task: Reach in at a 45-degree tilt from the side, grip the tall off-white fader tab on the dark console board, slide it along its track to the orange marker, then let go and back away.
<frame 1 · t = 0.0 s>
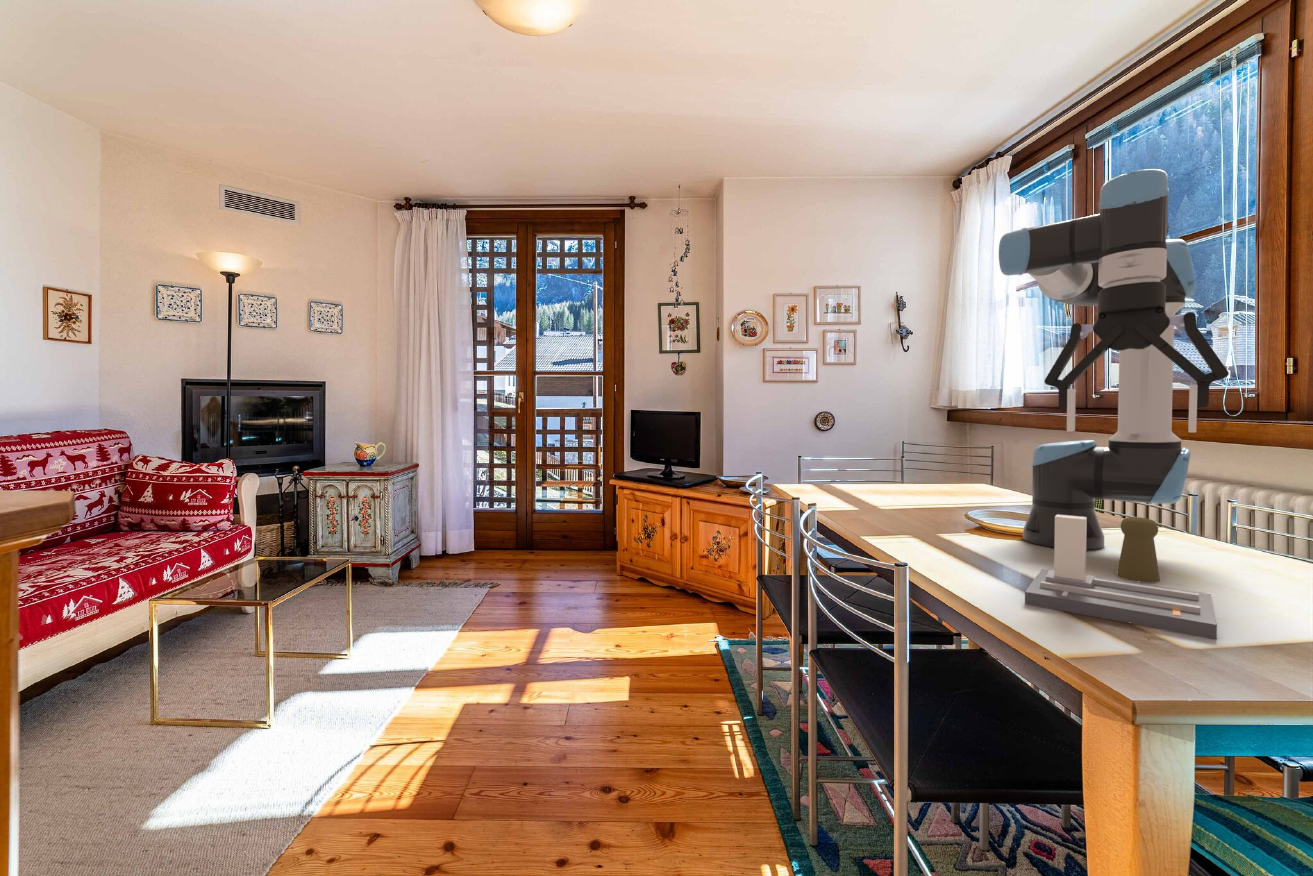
hand: (1128, 431, 82), 28 cm above the table, tool pointing down, fingers open, 13 cm apart
cork: (1138, 578, 102), on the table
fader: (1070, 550, 93), point 8 cm above the table, slide at 0.0 cm
console board: (1116, 605, 89), on the table
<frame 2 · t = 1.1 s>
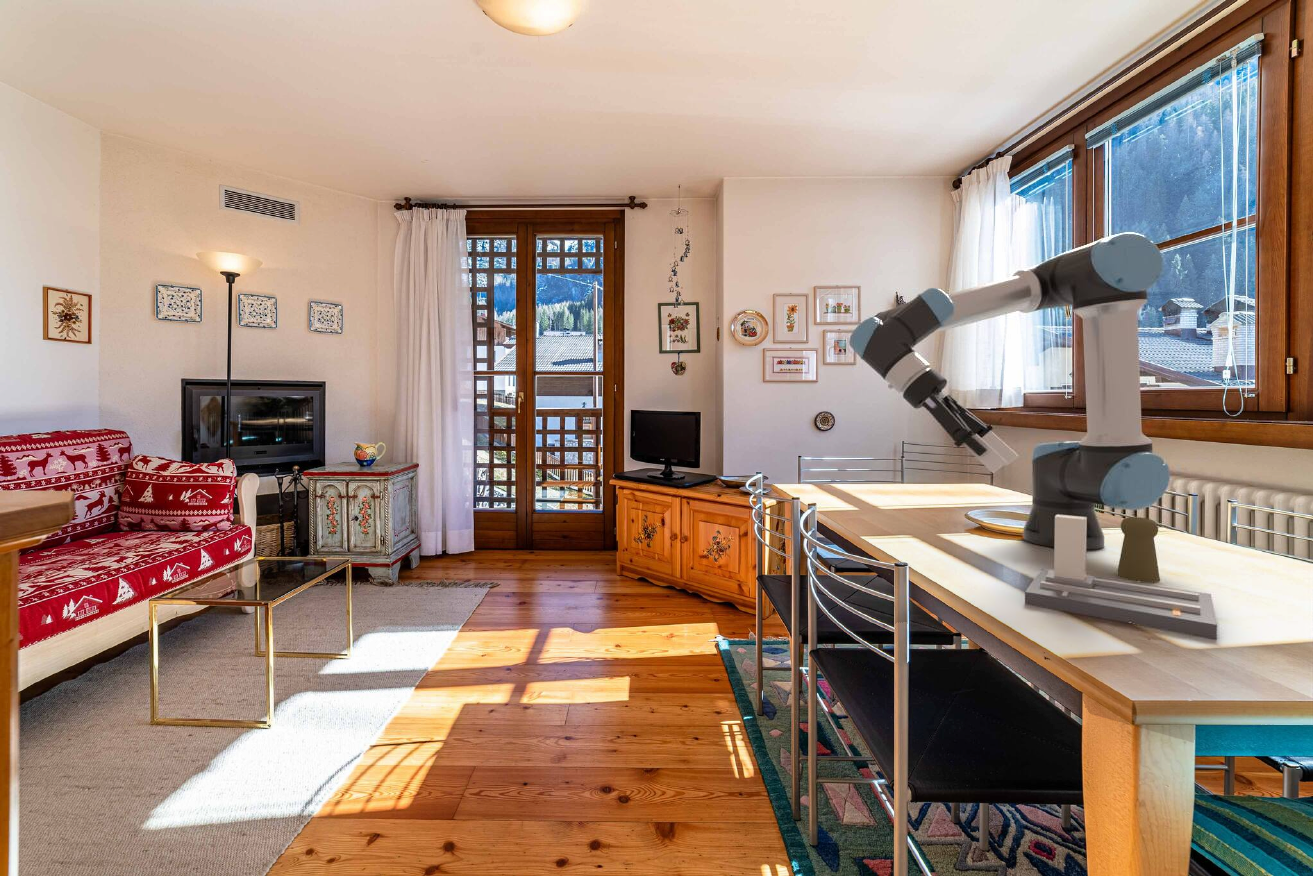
hand: (1007, 464, 98), 22 cm above the table, tool tilted 45°, fingers open, 13 cm apart
nothing on the table moved.
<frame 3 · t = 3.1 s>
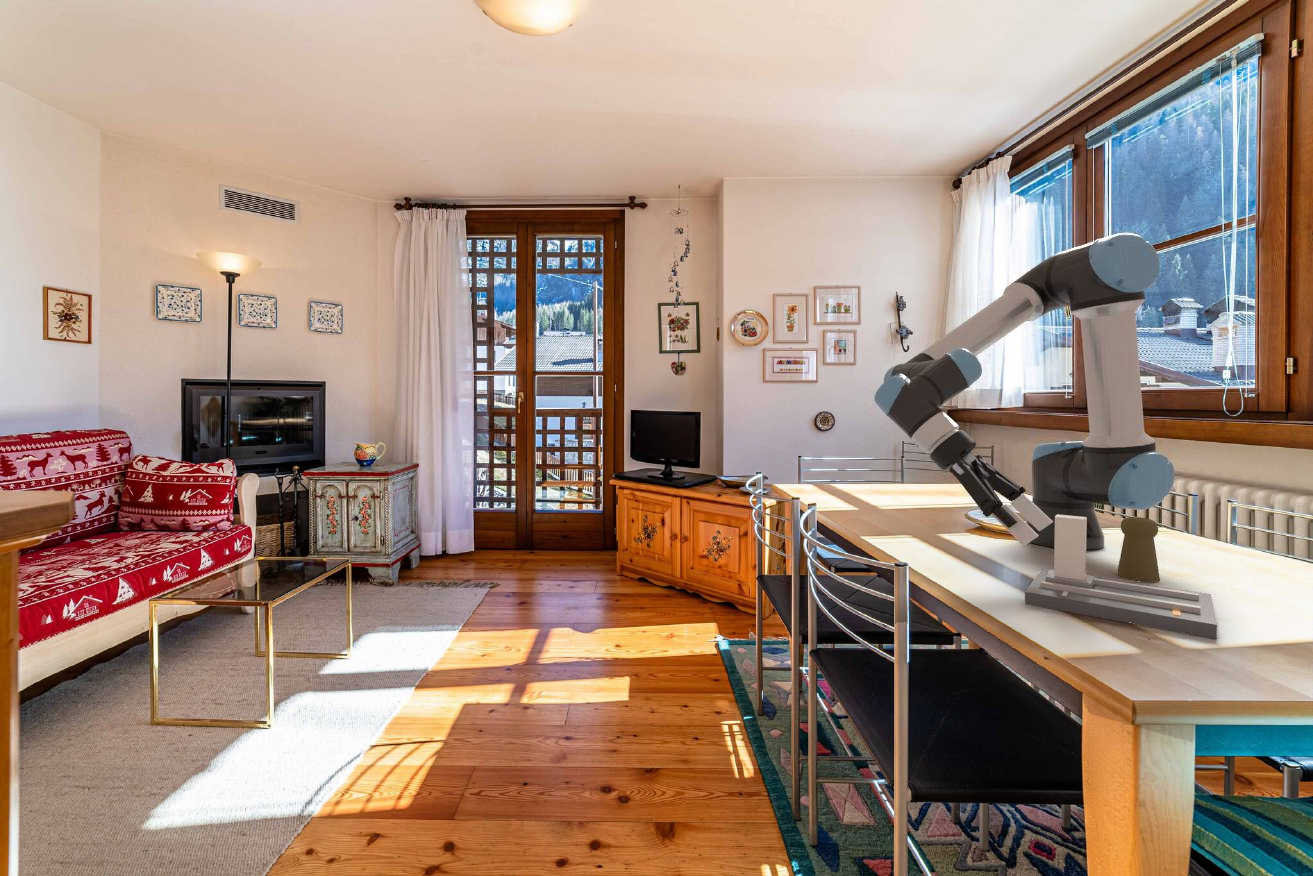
hand: (1039, 533, 95), 10 cm above the table, tool tilted 45°, fingers open, 13 cm apart
nothing on the table moved.
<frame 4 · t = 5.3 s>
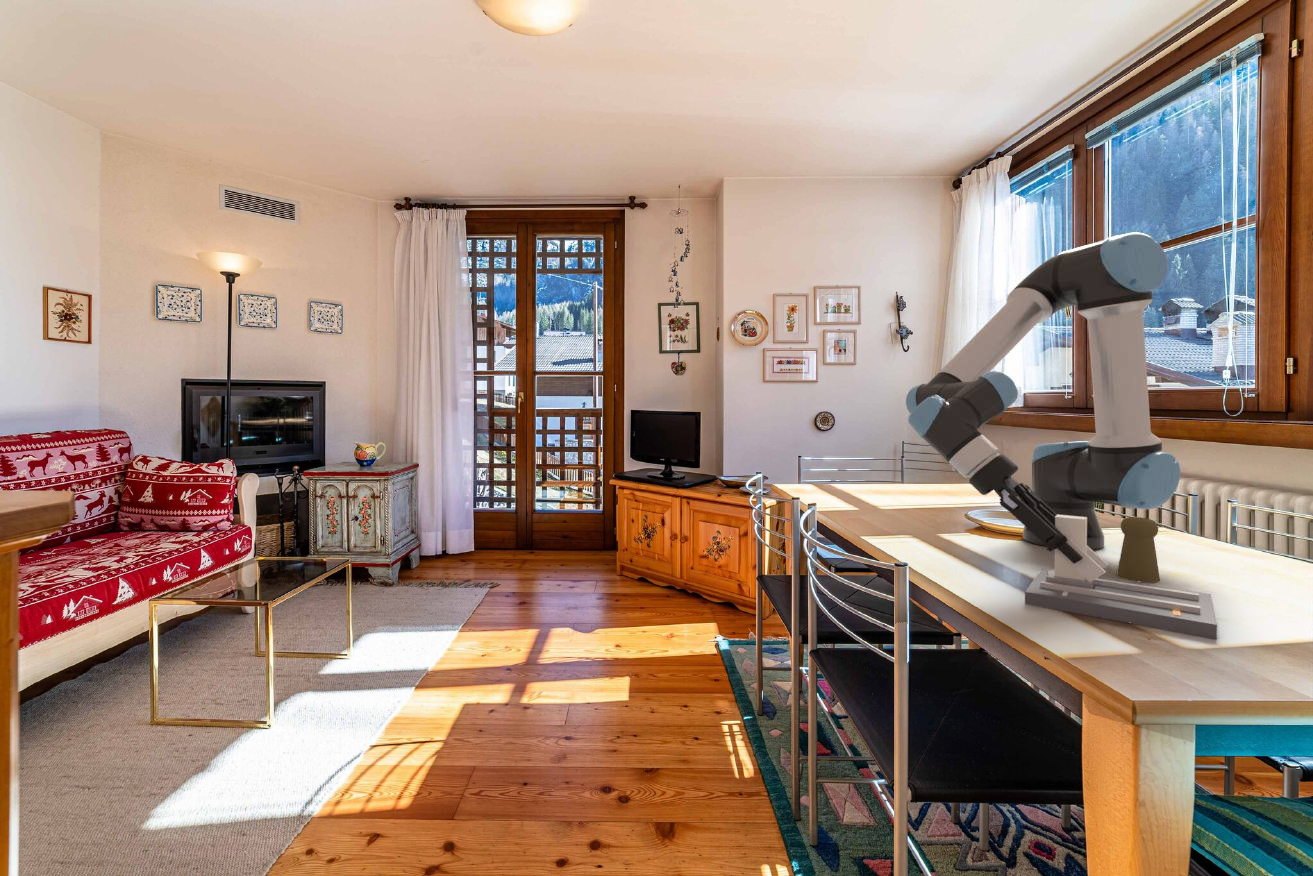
hand: (1098, 573, 90), 5 cm above the table, tool tilted 45°, fingers closed on fader, 4 cm apart
fader: (1070, 550, 93), point 8 cm above the table, slide at 0.1 cm, touching gripper
everything else where it was.
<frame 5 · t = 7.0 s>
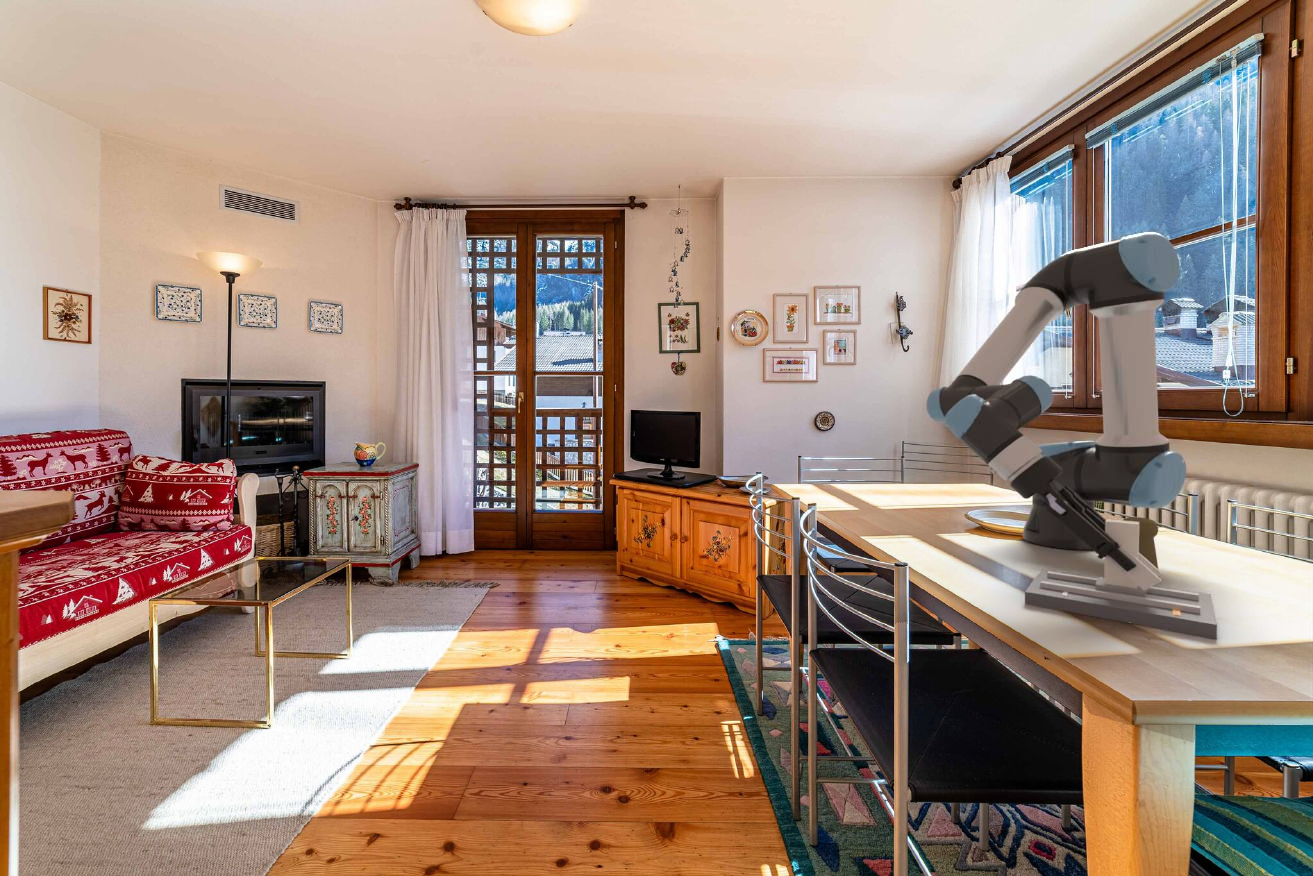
hand: (1153, 581, 86), 5 cm above the table, tool tilted 45°, fingers closed on fader, 4 cm apart
fader: (1121, 556, 88), point 8 cm above the table, slide at 6.6 cm, touching gripper
everything else where it was.
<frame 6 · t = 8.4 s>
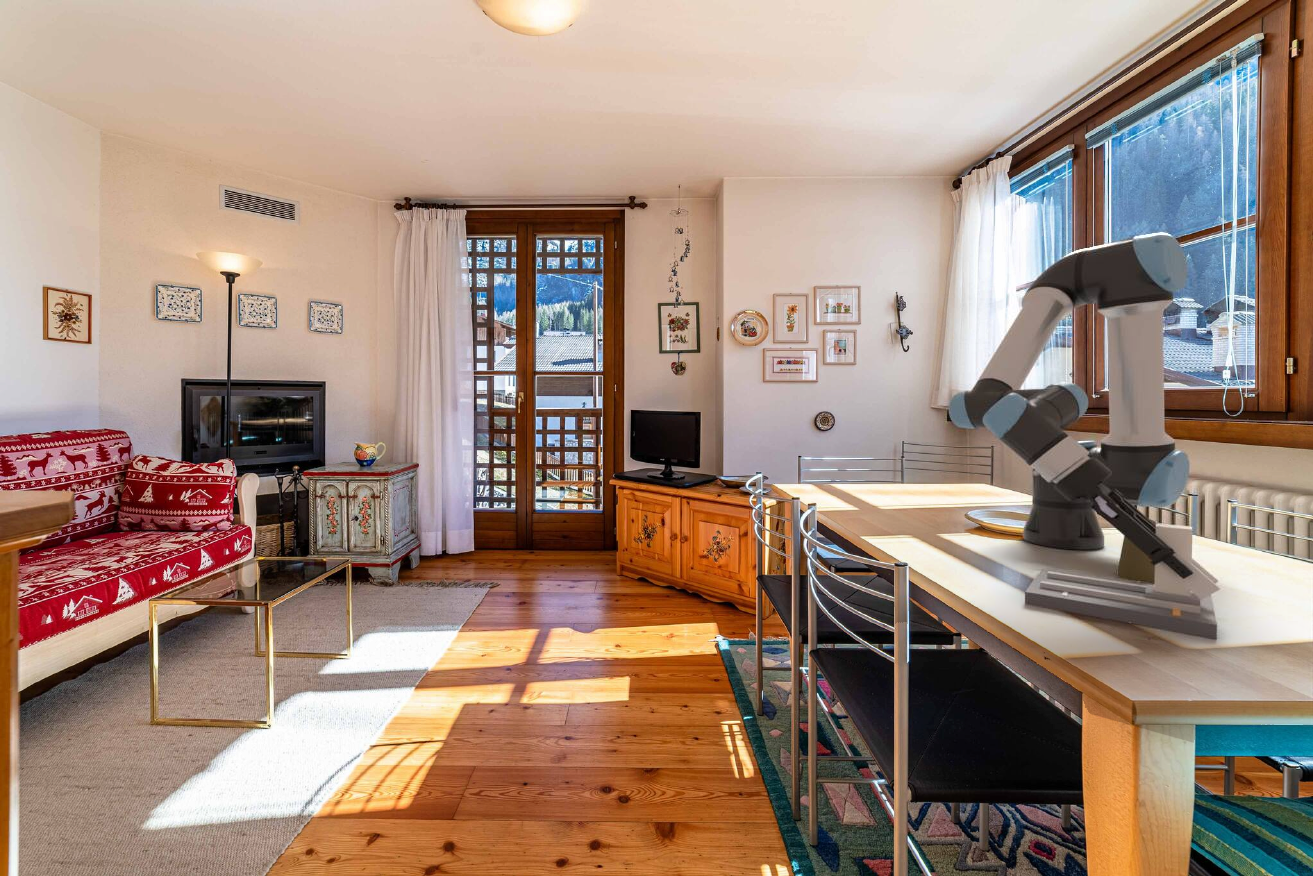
hand: (1209, 589, 82), 5 cm above the table, tool tilted 45°, fingers open, 4 cm apart
fader: (1172, 563, 84), point 8 cm above the table, slide at 12.5 cm
everything else where it was.
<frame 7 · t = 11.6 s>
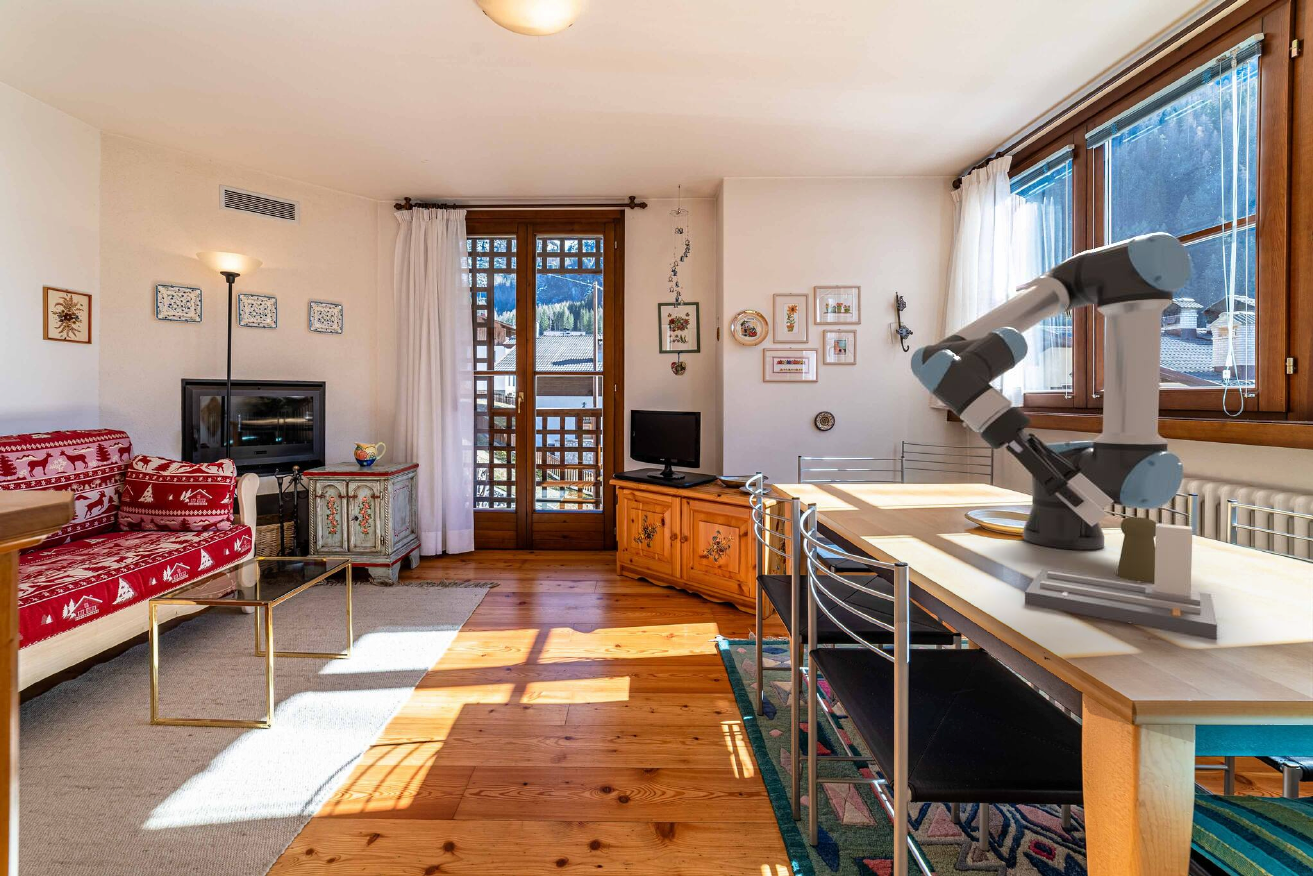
hand: (1103, 513, 89), 15 cm above the table, tool tilted 45°, fingers open, 13 cm apart
nothing on the table moved.
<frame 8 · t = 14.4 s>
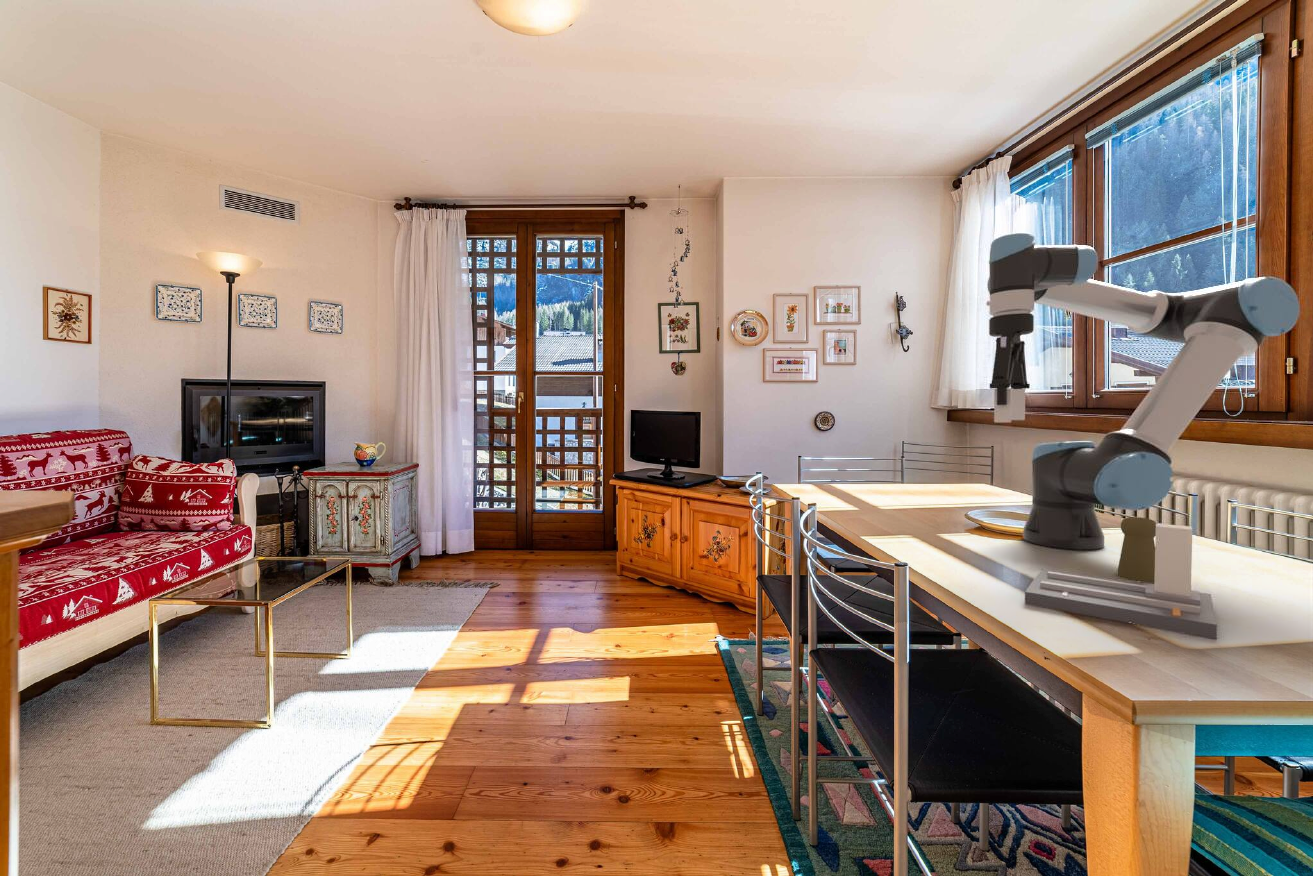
hand: (1010, 421, 113), 29 cm above the table, tool pointing down, fingers open, 13 cm apart
nothing on the table moved.
at the end: fader slide at 12.5 cm; the gripper is holding nothing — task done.
